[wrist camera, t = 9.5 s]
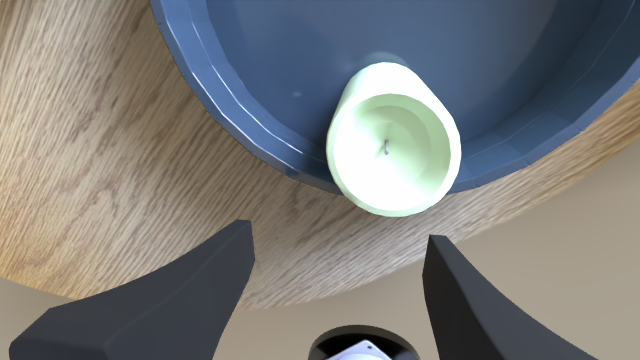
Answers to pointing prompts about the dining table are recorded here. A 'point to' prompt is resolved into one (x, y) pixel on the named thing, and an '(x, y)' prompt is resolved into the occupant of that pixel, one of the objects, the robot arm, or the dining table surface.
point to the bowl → (418, 56)
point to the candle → (392, 143)
